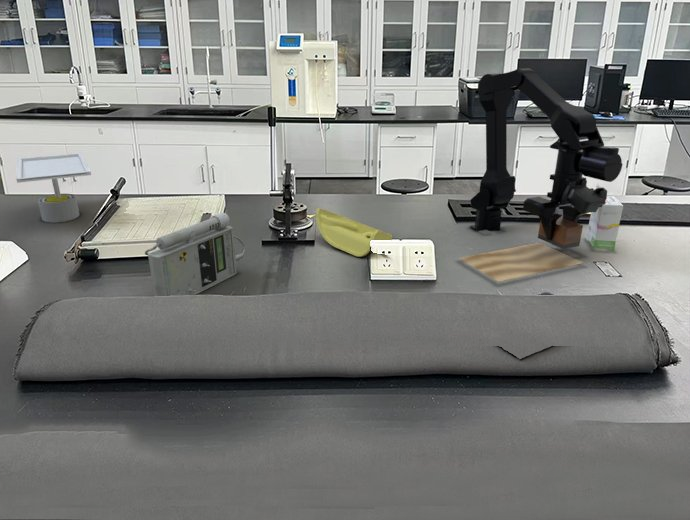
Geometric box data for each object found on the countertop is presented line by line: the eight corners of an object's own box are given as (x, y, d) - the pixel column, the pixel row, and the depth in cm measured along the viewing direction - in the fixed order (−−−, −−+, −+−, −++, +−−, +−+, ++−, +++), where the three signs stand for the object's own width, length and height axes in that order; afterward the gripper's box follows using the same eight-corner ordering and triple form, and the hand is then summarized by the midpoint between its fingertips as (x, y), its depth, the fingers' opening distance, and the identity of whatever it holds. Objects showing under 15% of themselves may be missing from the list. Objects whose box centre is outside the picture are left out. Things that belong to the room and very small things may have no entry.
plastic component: (396, 236, 130) (374, 229, 122) (386, 264, 131) (363, 259, 123) (337, 214, 142) (313, 206, 134) (327, 240, 142) (304, 233, 134)
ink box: (614, 252, 127) (627, 192, 121) (592, 251, 128) (604, 191, 122) (606, 240, 135) (617, 183, 129) (585, 239, 136) (595, 182, 130)
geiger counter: (159, 242, 94) (252, 207, 114) (135, 235, 97) (230, 202, 117) (168, 311, 100) (256, 266, 119) (146, 303, 103) (235, 260, 122)
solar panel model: (100, 225, 145) (90, 171, 139) (28, 235, 137) (15, 179, 132) (91, 200, 167) (82, 152, 162) (29, 207, 160) (17, 158, 154)
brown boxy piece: (537, 238, 125) (540, 217, 123) (552, 235, 127) (556, 215, 125) (563, 249, 118) (567, 228, 117) (579, 246, 120) (583, 225, 118)
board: (457, 261, 122) (458, 257, 121) (538, 246, 131) (539, 242, 131) (497, 285, 110) (498, 281, 110) (583, 266, 119) (584, 262, 119)
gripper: (565, 185, 106) (553, 257, 112) (630, 175, 113) (615, 243, 120) (526, 173, 116) (516, 240, 122) (588, 165, 123) (576, 228, 129)
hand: (557, 238), depth 123 cm, fingers closed on brown boxy piece, 5 cm apart
